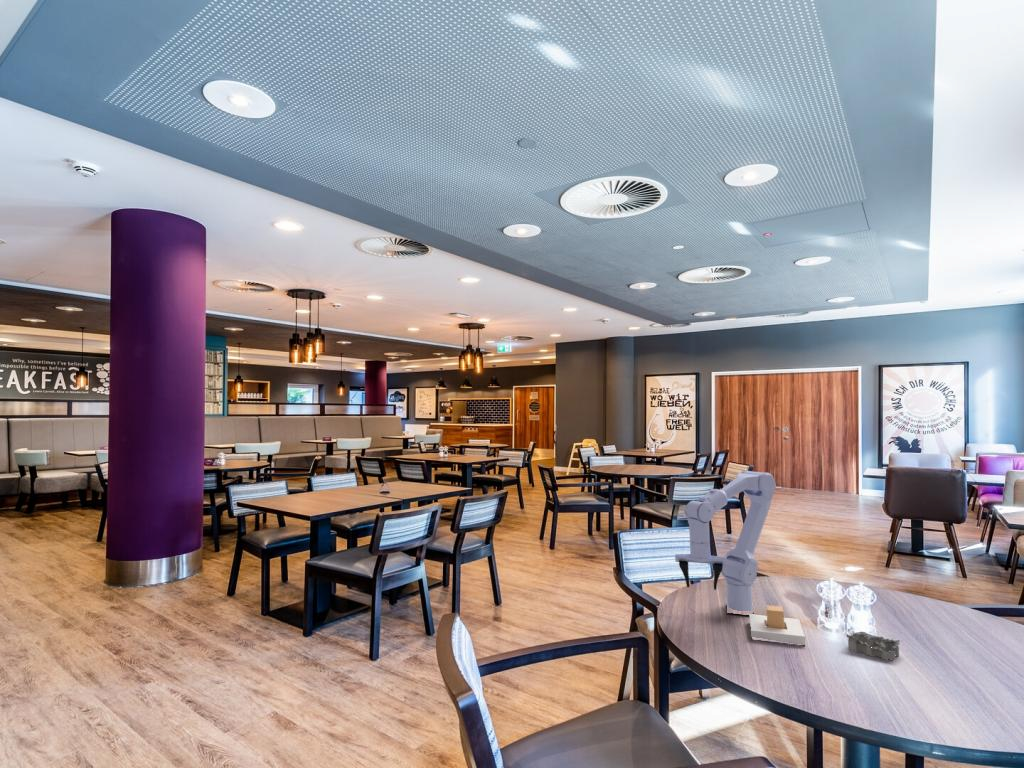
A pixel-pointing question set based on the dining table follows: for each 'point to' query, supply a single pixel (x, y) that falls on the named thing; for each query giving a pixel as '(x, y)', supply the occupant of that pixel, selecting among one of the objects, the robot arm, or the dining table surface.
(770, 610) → the peg
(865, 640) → the egg carton
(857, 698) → the dining table surface
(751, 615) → the socket plate
